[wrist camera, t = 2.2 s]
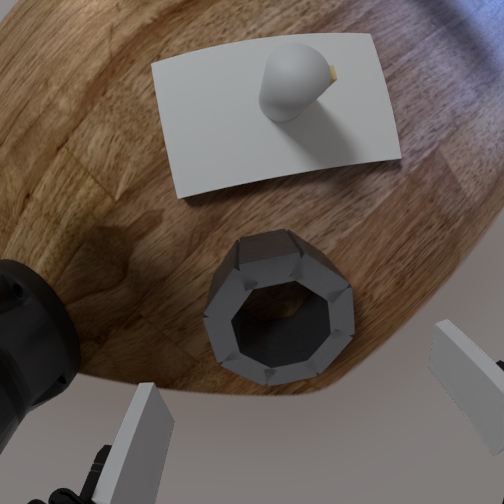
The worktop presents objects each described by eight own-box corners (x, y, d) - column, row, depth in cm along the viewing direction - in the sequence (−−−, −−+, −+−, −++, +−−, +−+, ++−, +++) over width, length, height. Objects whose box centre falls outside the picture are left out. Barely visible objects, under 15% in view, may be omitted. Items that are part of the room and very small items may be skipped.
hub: (231, 343, 23) (228, 392, 18) (204, 245, 21) (189, 274, 15) (332, 322, 23) (355, 366, 17) (319, 221, 21) (347, 241, 15)
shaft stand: (181, 196, 20) (148, 212, 13) (155, 68, 17) (116, 28, 10) (393, 158, 19) (455, 159, 12) (364, 39, 17) (408, -2, 9)
